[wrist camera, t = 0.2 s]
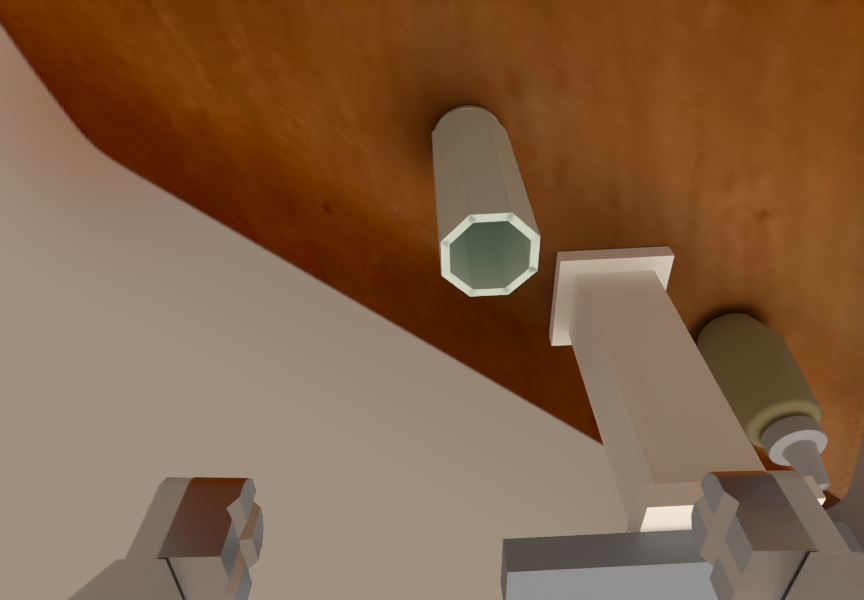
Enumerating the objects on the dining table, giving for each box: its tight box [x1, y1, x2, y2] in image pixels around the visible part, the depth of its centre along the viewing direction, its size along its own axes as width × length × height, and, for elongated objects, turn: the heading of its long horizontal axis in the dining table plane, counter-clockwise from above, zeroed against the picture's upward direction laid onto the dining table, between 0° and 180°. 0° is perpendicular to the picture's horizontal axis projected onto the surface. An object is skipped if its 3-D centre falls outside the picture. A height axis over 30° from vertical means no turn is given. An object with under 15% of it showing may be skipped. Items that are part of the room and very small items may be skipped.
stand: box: [549, 246, 826, 533], centre depth 47 cm, size 10×10×26 cm
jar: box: [432, 105, 540, 297], centre depth 41 cm, size 6×6×16 cm
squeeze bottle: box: [697, 313, 830, 491], centre depth 54 cm, size 8×8×18 cm
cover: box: [501, 522, 864, 600], centre depth 36 cm, size 5×20×2 cm, turn 92°
